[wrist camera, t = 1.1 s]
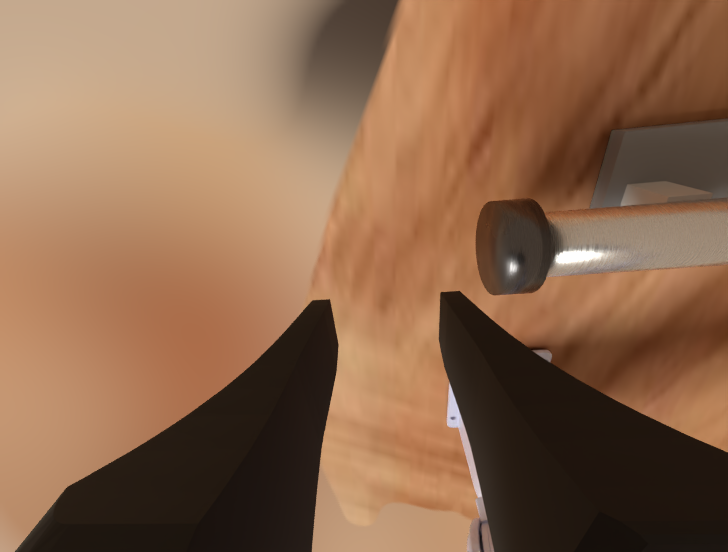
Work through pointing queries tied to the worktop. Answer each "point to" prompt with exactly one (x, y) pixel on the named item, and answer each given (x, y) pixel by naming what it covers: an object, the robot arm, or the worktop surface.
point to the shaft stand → (664, 164)
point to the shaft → (595, 240)
